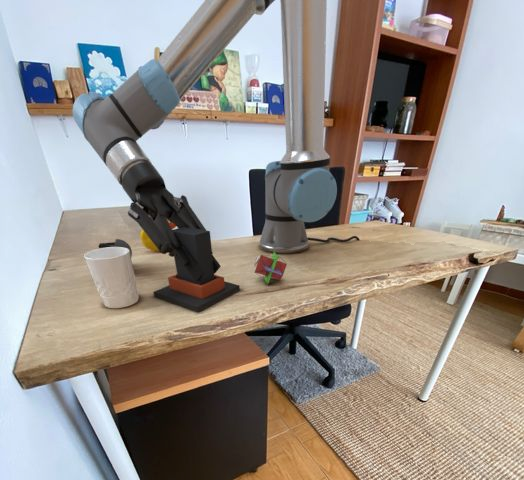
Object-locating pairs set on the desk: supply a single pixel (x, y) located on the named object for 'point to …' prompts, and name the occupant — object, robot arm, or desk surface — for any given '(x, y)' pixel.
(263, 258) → the geometric puzzle
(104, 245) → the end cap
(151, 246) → the duckling
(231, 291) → the base pad
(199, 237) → the pad block
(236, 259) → the desk surface
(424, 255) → the desk surface
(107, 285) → the white cup
